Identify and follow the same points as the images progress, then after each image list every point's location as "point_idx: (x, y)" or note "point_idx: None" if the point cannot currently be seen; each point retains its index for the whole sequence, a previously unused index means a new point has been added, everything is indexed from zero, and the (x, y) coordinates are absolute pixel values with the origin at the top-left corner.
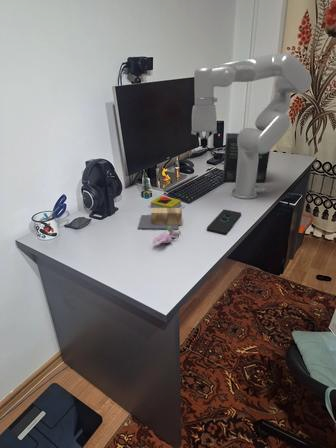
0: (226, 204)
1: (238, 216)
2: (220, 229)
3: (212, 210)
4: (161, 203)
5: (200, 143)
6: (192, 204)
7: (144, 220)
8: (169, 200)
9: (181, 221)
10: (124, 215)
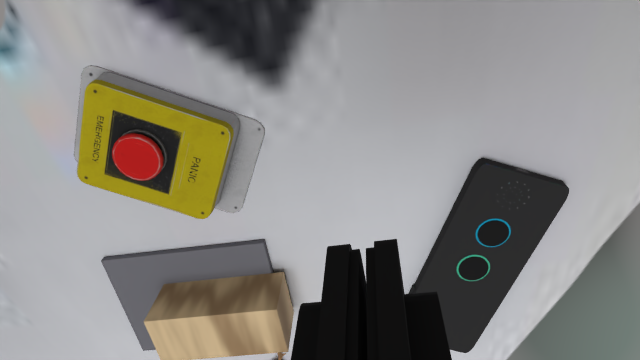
0: (505, 57)
1: (546, 228)
2: (450, 336)
3: (418, 152)
4: (142, 189)
5: (298, 326)
6: (299, 92)
7: (138, 300)
8: (168, 144)
9: (291, 318)
10: (29, 259)
